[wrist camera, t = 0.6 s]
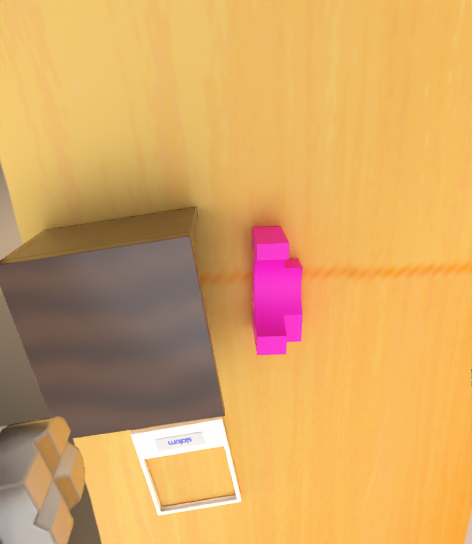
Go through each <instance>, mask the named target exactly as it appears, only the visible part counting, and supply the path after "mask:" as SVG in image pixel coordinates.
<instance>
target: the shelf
mask: <svg viewBox="0 0 472 544" xmlns="http://www.w3.org/2000/svg"><path fill="white" fill-rule="evenodd" d="M197 217H198V213H197V208H196V207H191V208H184V209H178V210H171V211H165V212H158V213H152V214H145V215H139V216H132V217H125V218H119V219H112V220H106V221H99V222H93V223H86V224H80V225H73V226H67V227H60V228H54V229H47V230H43V231H42V232H40V233H39V234H37V235H36V236H35V237H33V238H32V239H30V240H29V241H28V242H26V243H25V244H23V245H22V246H20V247H19V248H18V249H16V250H15V251H13V252H12V253H10V254H9V255H8V256H6V257H5V258H3V259H2V260H0V286H1V289H2V292H3V294H4V297H5V299H6V302H7V305H8V307H9V310H10V313H11V315H12V318H13V320H14V323H15V326H16V328H17V331H18V333H19V336H20V339H21V341H22V344H23V347H24V349H25V352H26V355H27V357H28V360H29V362H30V365H31V368H32V370H33V373H34V375H35V378H36V380H37V383H38V386H39V388H40V391H41V394H42V396H43V399H44V402H45V404H46V407H47V409H48V412H49V415H50V417H55V416H59V417H62V418H64V419H65V421H66V423H67V424H68V426H69V428H70V430H71V432H70V435H69V438H68V439H70V438H77V437H84V436H91V435H98V434H105V433H112V432H119V431H125V430H132V429H139V428H146V427H153V426H160V425H167V424H174V423H181V422H187V421H194V420H201V419H208V418H215V417H222V416H225V408H224V402H223V397H222V392H221V387H220V382H219V376H218V371H217V366H216V361H215V356H214V350H213V345H212V340H211V335H210V330H209V325H208V319H207V314H206V309H205V304H204V299H203V293H202V288H201V283H200V278H199V273H198V267H197V262H196V257H195V252H194V247H193V238H194V233H195V227H196V222H197Z"/></svg>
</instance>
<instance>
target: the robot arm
mask: <svg viewBox="0 0 472 544" xmlns="http://www.w3.org/2000/svg"><path fill="white" fill-rule="evenodd" d="M471 385H472V370H471ZM70 432H71V430H70V428H69V426H68V424H67V423H66V421H65V419H64V418H62V417H59V416H55V417H50V418H44V419H39V420H33V421H27V422H22V423H16V424H11V425H8V426H0V544H67V543H68V540H69V536H70V533H71V530H72V527H73V523H74V520H73V518H72V516H71V514H70V512H69V511H70V510H71V509H72V508H73V507H74V506H75V505H76V504H77V503H78V501H79V500H80V499H81V496H82V492H83V489H84V482H85V467H84V462H83V458H82V455H81V453H80V451H79V448H77V447H76V446H74V445H72V444H71V443H69V442H67V440H68V438H69V435H70Z"/></svg>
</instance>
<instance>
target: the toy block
mask: <svg viewBox="0 0 472 544" xmlns="http://www.w3.org/2000/svg"><path fill="white" fill-rule="evenodd" d="M252 250H253V331H254V337H255V344H256V350H257V355H271V354H286V342H295V341H301V333H302V306H301V278H302V269H303V267H302V266H301V264H300V262H299V260H298V259H289V242H288V240H287V238H286V236H285V234H284V232H283V230H282V228H281V226H274V227H252Z"/></svg>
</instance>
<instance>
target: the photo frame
mask: <svg viewBox="0 0 472 544" xmlns="http://www.w3.org/2000/svg"><path fill="white" fill-rule="evenodd" d="M131 437H132V440H133V443H134V446H135V449H136V452H137V455H138V458H139V461H140V464H141V467H142V469H143V472H144V475H145V478H146V481H147V484H148V487H149V490H150V493H151V496H152V499H153V502H154V504H155V507H156V510H157V513H158V515H164V514H170V513H176V512H182V511H188V510H194V509H200V508H206V507H212V506H218V505H224V504H230V503H236V502H241V494H240V490H239V486H238V481H237V477H236V473H235V469H234V464H233V460H232V456H231V452H230V448H229V443H228V439H227V435H226V431H225V426H224V422H223V418H222V417H215V418H208V419H201V420H194V421H187V422H181V423H174V424H167V425H160V426H155V427H149V428H143V429H137V430H132V431H131ZM220 446H224V447H225V451H226V456H227V460H228V464H229V468H230V472H231V476H232V480H233V485H234V489H235V493H236V495H233V496H227V497H221V498H215V499H209V500H203V501H197V502H191V503H185V504H179V505H173V506H167V507H161V504H160V501H159V498H158V495H157V492H156V489H155V486H154V483H153V480H152V477H151V474H150V471H149V468H148V465H147V462H146V459H149V458H155V457H161V456H167V455H173V454H179V453H184V452H190V451H196V450H202V449H208V448H214V447H220Z"/></svg>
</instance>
